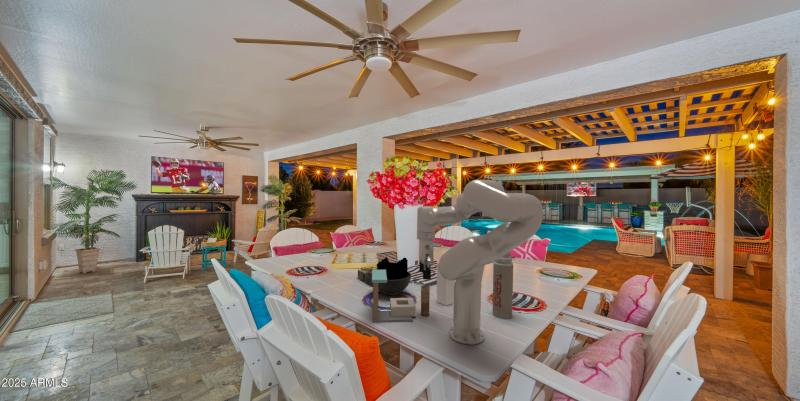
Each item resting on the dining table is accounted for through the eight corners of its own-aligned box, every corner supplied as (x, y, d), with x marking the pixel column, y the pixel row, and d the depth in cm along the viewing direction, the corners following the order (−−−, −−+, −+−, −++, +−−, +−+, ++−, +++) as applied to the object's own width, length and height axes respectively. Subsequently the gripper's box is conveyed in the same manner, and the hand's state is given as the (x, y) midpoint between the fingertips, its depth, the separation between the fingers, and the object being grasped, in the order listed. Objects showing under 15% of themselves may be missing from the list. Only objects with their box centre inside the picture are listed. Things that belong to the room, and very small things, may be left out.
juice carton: (355, 278, 176) (356, 268, 176) (370, 275, 181) (370, 266, 181) (371, 288, 159) (372, 276, 159) (387, 285, 165) (387, 274, 164)
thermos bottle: (501, 319, 120) (502, 252, 119) (488, 312, 127) (489, 248, 126) (516, 317, 123) (517, 250, 122) (503, 309, 130) (504, 247, 129)
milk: (445, 306, 134) (446, 258, 133) (436, 301, 139) (436, 255, 138) (454, 302, 138) (455, 256, 137) (445, 299, 143) (446, 254, 142)
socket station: (416, 321, 118) (416, 279, 117) (371, 322, 117) (371, 280, 116) (411, 305, 134) (412, 268, 133) (372, 306, 133) (372, 269, 132)
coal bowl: (363, 296, 145) (364, 259, 144) (383, 285, 163) (383, 251, 162) (400, 304, 136) (400, 263, 135) (416, 290, 154) (417, 255, 153)
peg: (430, 316, 123) (430, 288, 122) (421, 316, 122) (421, 288, 122) (428, 312, 126) (428, 285, 126) (420, 313, 126) (420, 285, 126)
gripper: (438, 239, 115) (437, 282, 116) (430, 232, 132) (429, 269, 133) (420, 239, 114) (419, 282, 115) (414, 232, 132) (413, 269, 133)
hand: (424, 275), depth 124 cm, fingers open, 9 cm apart
